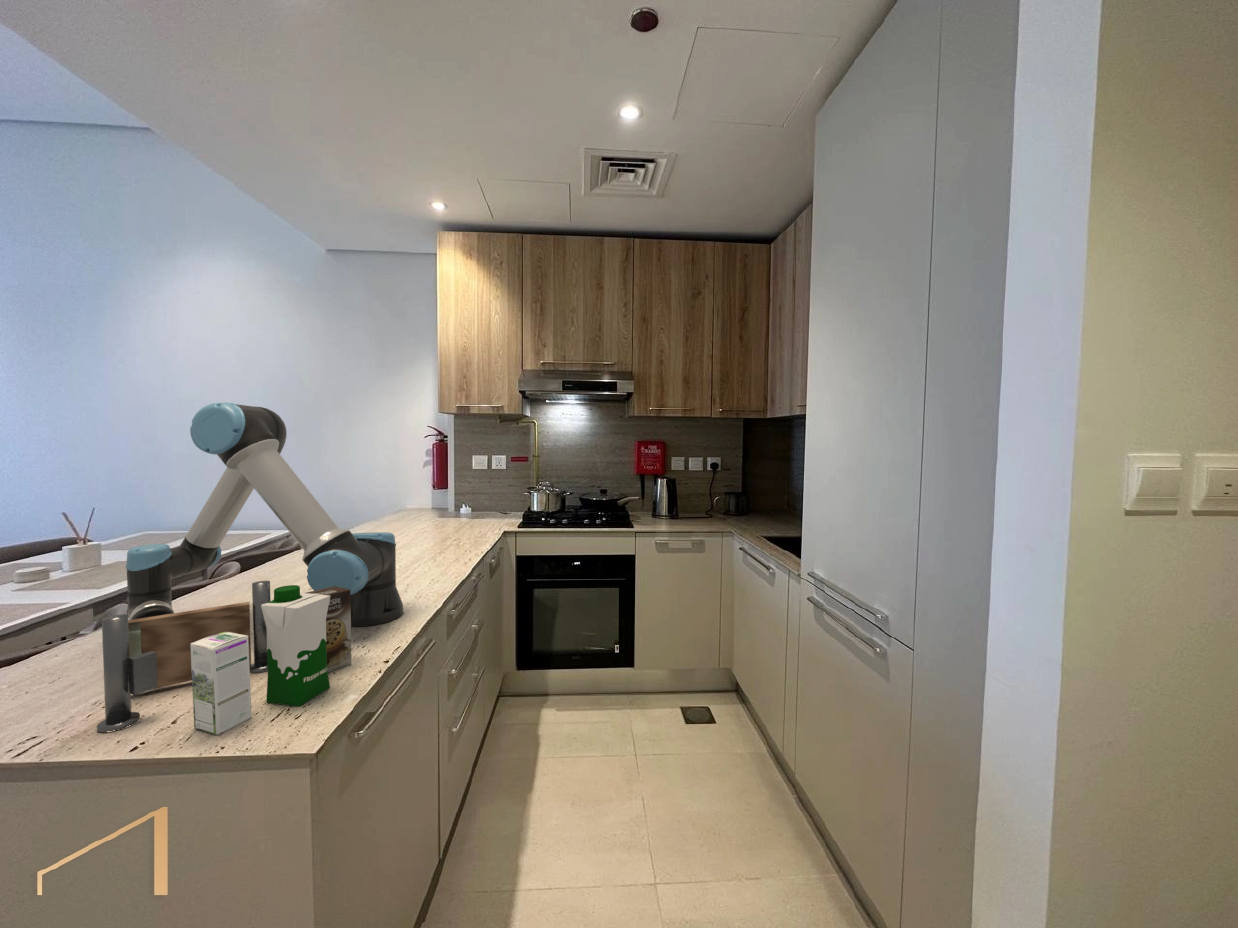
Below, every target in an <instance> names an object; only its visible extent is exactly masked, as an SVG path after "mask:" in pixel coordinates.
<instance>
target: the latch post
mask: <svg viewBox="0 0 1238 928" xmlns="http://www.w3.org/2000/svg"><path fill="white" fill-rule="evenodd" d="M128 619H129V618H128V615H127V614H125V613H124V614H123V613H122V614H115V615H110V616H106V617H104V618H102V619H101V634H102V636H101V637H102V639H101V640H102V657H103V658H102V661H103V664H102V665H103V686H104V687H103V689H104V693H103V694H104V715H105V719H103V720H101V721H100V722H99V723H97V725H96V732H97V731H99V732H107V731H113V730H118V729H122V728H125V727H127V726H129V725H132V724H134V723H135V724H137V723H138V722H139V721H140V720H141V714H140V712H137V711H132V697H131V696H132V695H133V696H137V695H139V694H142V693H146V692H147V691H151V690H154V688H155V689H157V688H156V687H158V684H157V654H156V652H153V651H150V652H147V653H143V654H140V655H137V656H133V657H130V658H129V630H128ZM139 719H140V720H139ZM138 720H139V721H138ZM137 721H138V722H137ZM136 722H137V723H136ZM135 724H134V725H135ZM132 726H133V725H132ZM127 728H128V727H127ZM125 729H126V728H125ZM122 730H123V729H122Z"/></svg>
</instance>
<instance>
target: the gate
mask: <svg viewBox="0 0 1238 928" xmlns="http://www.w3.org/2000/svg"><path fill="white" fill-rule="evenodd" d="M250 607H251V606H250V601H245V602H240V603H233V604H226V605H219V606H214V607H206V608H200V609H193V610H186V611H180V612H174V613H173V614H166V615H159V616H153V617H146V618H140V619H133V620H128V630H129V658H130V657H133V656H137V655H140V654H143V653H147V652H150V651H153V652H156V654H157V684H158V687H156V688H154V689H157V688H158V689H159V688H162V687H168V686H173V685H178V684H181V683H186V682H192V669H191V646H190V645H191V643H194V642H196V641H198V640H201V639H203V638H206V637H209V636H212V635H215V634H219V633H222V632H231V633H236V634H241V635H247V636H248V642H249V667H250V668H251V664H252V649H251V647H252V646H251V613H250V612H251V610H250V609H251V608H250ZM154 689H153V690H154Z"/></svg>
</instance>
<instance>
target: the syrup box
mask: <svg viewBox="0 0 1238 928" xmlns="http://www.w3.org/2000/svg"><path fill="white" fill-rule="evenodd" d="M190 646H191V669H192V680H191V687H192V688H191V689H192V692H191V693H192V708H193V709H192V710H193V728H194V729H195V730H199V731H202V732H206V733H208V734H212V735H215V736H216V735H217V736H218V735H220V734H222V733H224V732H226V731H228V730H230V729H232V728H235V727H237V726H239V725H240V724H243V723H244V722H247V721H248V720H250V719H251V718H252V716H253V715H252V695H251V673H250V667H249V642H248V636H247V635H241V634H236V633H231V632H222V633H219V634H215V635H212V636H209V637H206V638H203V639H201V640H198V641H196V642H194V643H191V645H190Z"/></svg>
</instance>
